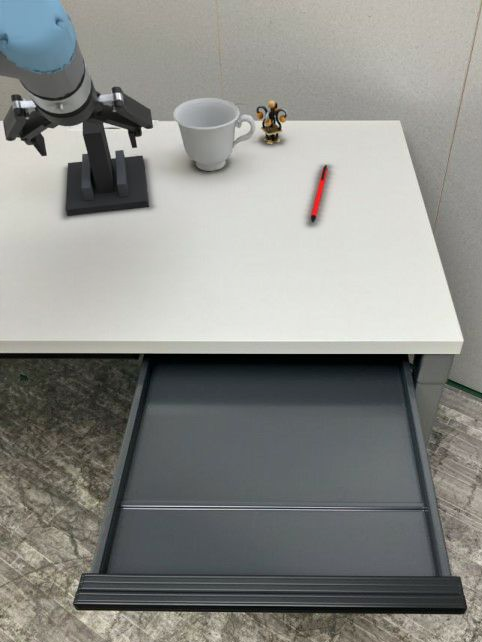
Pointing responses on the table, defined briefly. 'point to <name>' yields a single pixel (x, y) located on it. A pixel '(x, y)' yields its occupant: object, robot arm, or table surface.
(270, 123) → the figurine
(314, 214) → the pen
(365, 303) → the table surface
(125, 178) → the base pad
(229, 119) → the teacup
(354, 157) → the table surface
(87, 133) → the foam pad
